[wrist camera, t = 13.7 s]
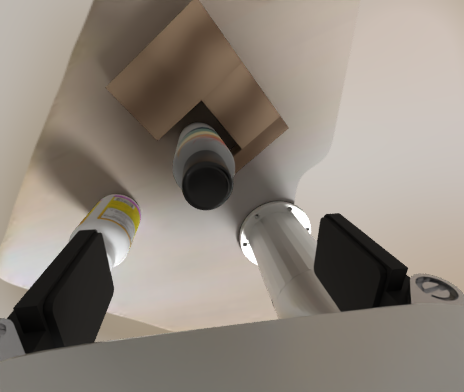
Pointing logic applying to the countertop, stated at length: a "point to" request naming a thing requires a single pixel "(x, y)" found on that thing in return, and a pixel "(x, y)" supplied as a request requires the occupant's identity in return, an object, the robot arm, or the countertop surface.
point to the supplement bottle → (113, 225)
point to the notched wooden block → (197, 85)
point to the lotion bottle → (203, 167)
